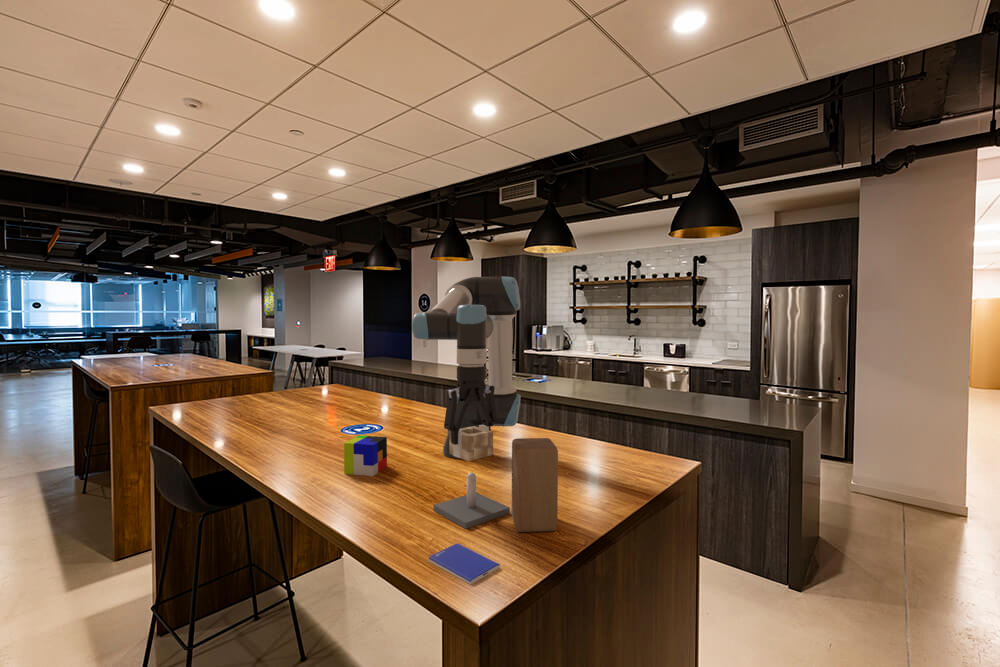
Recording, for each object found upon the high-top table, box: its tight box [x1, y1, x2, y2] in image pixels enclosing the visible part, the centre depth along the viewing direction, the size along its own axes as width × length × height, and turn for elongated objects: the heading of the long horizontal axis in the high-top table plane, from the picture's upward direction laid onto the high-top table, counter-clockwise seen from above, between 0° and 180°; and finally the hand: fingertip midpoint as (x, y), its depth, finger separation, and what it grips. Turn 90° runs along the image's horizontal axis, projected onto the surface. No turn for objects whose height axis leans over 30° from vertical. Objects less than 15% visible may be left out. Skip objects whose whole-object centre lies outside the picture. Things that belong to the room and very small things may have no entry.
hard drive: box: [428, 543, 501, 585], centre depth 96 cm, size 2×8×12 cm
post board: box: [432, 472, 511, 530], centre depth 121 cm, size 14×14×10 cm
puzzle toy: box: [343, 434, 388, 477], centre depth 155 cm, size 10×10×10 cm
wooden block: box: [511, 437, 559, 533], centre depth 114 cm, size 10×10×20 cm
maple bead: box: [449, 426, 494, 462], centre depth 121 cm, size 8×8×6 cm
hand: (471, 453), depth 121 cm, fingers closed on maple bead, 8 cm apart
